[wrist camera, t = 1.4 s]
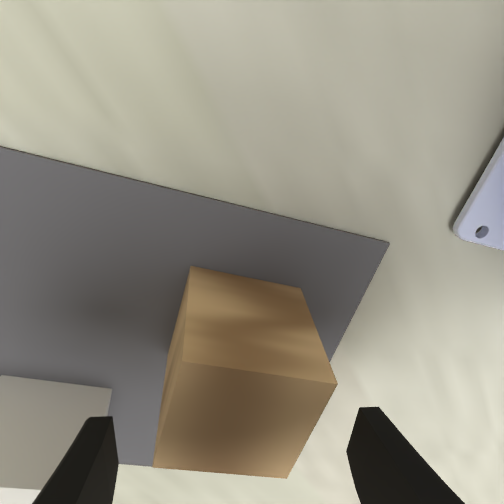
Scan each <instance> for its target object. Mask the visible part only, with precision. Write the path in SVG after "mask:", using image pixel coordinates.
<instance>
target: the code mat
mask: <svg viewBox="0 0 504 504" xmlns="http://www.w3.org/2000/svg"><path fill="white" fill-rule="evenodd" d="M389 244H390V243H389V242H385V241H381V240H377V239H373V238H369V237H365V236H361V235H357V234H353V233H349V232H345V231H341V230H337V229H333V228H328V227H324V226H320V225H316V224H312V223H308V222H304V221H300V220H296V219H292V218H288V217H284V216H280V215H276V214H272V213H268V212H264V211H260V210H256V209H251V208H247V207H243V206H239V205H235V204H231V203H227V202H223V201H219V200H215V199H211V198H207V197H203V196H199V195H195V194H191V193H187V192H183V191H179V190H175V189H170V188H166V187H162V186H158V185H154V184H150V183H146V182H142V181H138V180H134V179H130V178H126V177H122V176H118V175H114V174H110V173H106V172H102V171H98V170H93V169H89V168H85V167H81V166H77V165H73V164H69V163H65V162H61V161H57V160H53V159H49V158H45V157H41V156H37V155H33V154H29V153H25V152H21V151H17V150H12V149H8V148H4V147H0V376H1V375H6V376H14V377H22V378H30V379H38V380H46V381H54V382H62V383H69V384H77V385H85V386H93V387H101V388H109V389H112V393H111V399H110V404H109V409H108V415H107V416H113V423H114V431H115V438H116V446H117V453H118V460H119V464H127V465H139V466H151V467H152V465H153V458H154V451H155V444H156V436H157V429H158V422H159V415H160V408H161V400H162V393H163V386H164V379H165V371H166V364H167V357H168V352H169V348H170V344H171V340H172V336H173V332H174V329H175V325H176V321H177V317H178V313H179V309H180V305H181V301H182V298H183V294H184V290H185V286H186V282H187V278H188V274H189V270H190V266H194V267H199V268H204V269H209V270H214V271H219V272H224V273H229V274H234V275H238V276H243V277H248V278H253V279H258V280H263V281H268V282H273V283H278V284H283V285H287V286H292V287H297V288H301V290H302V293H303V296H304V298H305V301H306V303H307V306H308V308H309V311H310V314H311V316H312V319H313V321H314V324H315V327H316V329H317V332H318V334H319V337H320V340H321V342H322V345H323V347H324V350H325V352H326V355H327V358H328V360H329V362H330V360H331V358H332V356H333V354H334V352H335V350H336V348H337V346H338V344H339V342H340V341H341V339H342V337H343V335H344V333H345V331H346V329H347V327H348V325H349V323H350V321H351V319H352V317H353V315H354V313H355V311H356V309H357V307H358V305H359V303H360V301H361V299H362V297H363V295H364V293H365V291H366V289H367V287H368V285H369V284H370V282H371V280H372V278H373V276H374V274H375V272H376V270H377V268H378V266H379V264H380V262H381V260H382V258H383V256H384V254H385V252H386V250H387V248H388V246H389Z"/></svg>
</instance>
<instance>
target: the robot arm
mask: <svg viewBox="0 0 504 504" xmlns="http://www.w3.org/2000/svg"><path fill="white" fill-rule="evenodd" d="M481 226H482V228H481V230H480V231H479V232H478V233H476V234H475V232H476V230H477V229H478V228H479V227H481ZM453 232H454V234H455V235H456V236H457V237H459V238H460V239H462V240H465V241H469V242H472V243H476V244H480V245H484V246H488V247H492V248H495V249H499V250H503V251H504V138H503V139H502V141H501V143H500V145H499V146H498V148H497V150H496V152H495V153H494V155H493V157H492V159H491V160H490V162H489V164H488V165H487V167H486V169H485V171H484V172H483V174H482V176H481V178H480V179H479V181H478V183H477V185H476V186H475V188H474V190H473V191H472V193H471V195H470V197H469V198H468V200H467V202H466V204H465V205H464V207H463V209H462V211H461V212H460V214H459V216H458V217H457V219H456V221H455V223H454V226H453ZM346 452H347V456H348V460H349V464H350V469H351V473H352V477H353V480H354V484H355V488H356V491H357V494H358V497H359V500H360V502H361V504H465V503H464V502H463V501H462V500H461V499H460V498H459V497H458V496H457V495H456V494H455V493H454V492H453V491H452V490H451V489H450V488H449V487H448V485H447V484H446V483H445V482H444V481H443V480H442V479H441V478H440V477H439V476H438V475H437V473H436V472H435V471H434V470H433V469H432V468H431V467H430V466H429V465H428V464H427V462H426V461H425V460H424V459H423V458H422V457H421V456H420V455H419V453H418V452H417V451H416V450H415V449H414V448H413V446H412V445H411V444H410V443H409V442H408V441H407V440H406V438H405V437H404V436H403V435H402V434H401V432H400V431H399V430H398V429H397V428H396V427H395V425H394V424H393V423H392V422H391V421H390V420H389V418H388V417H387V416H386V415H385V414H384V412H383V411H382V410H381V409H380V408H379V407H360V408H359V411H358V414H357V417H356V421H355V424H354V427H353V431H352V434H351V437H350V441H349V444H348V447H347V451H346ZM118 464H119V460H118V453H117V446H116V438H115V431H114V423H113V416H100V417H89V418H88V419H86V421H85V422H84V424H83V426H82V428H81V429H80V431H79V433H78V434H77V436H76V438H75V439H74V441H73V443H72V444H71V446H70V448H69V449H68V451H67V452H66V454H65V456H64V457H63V459H62V460H61V462H60V463H59V465H58V466H57V468H56V469H55V471H54V472H53V474H52V475H51V477H50V478H49V480H48V481H47V483H46V484H45V485H44V487H43V488H42V490H41V491H40V493H39V494H38V496H37V497H36V499H35V500H34V501H33V503H32V504H112V501H113V495H114V489H115V483H116V477H117V471H118Z"/></svg>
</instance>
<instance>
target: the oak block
mask: <svg viewBox="0 0 504 504" xmlns="http://www.w3.org/2000/svg"><path fill="white" fill-rule="evenodd" d="M337 384H338V383H337V381H336V378H335V376H334V373H333V371H332V368H331V365H330V363H329V360H328V358H327V355H326V352H325V350H324V347H323V345H322V342H321V340H320V337H319V334H318V332H317V329H316V327H315V324H314V321H313V319H312V316H311V314H310V311H309V308H308V306H307V303H306V301H305V298H304V296H303V293H302V290H301V288H297V287H292V286H287V285H283V284H278V283H273V282H268V281H263V280H258V279H253V278H248V277H243V276H238V275H234V274H229V273H224V272H219V271H214V270H209V269H204V268H199V267H194V266H190V270H189V274H188V278H187V282H186V286H185V290H184V294H183V298H182V301H181V305H180V309H179V313H178V317H177V321H176V325H175V329H174V332H173V336H172V340H171V344H170V348H169V352H168V357H167V364H166V371H165V379H164V386H163V393H162V400H161V408H160V415H159V422H158V429H157V436H156V444H155V451H154V458H153V465H152V467H154V468H166V469H178V470H190V471H202V472H214V473H226V474H238V475H250V476H262V477H274V478H286V479H287V477H288V475H289V473H290V472H291V470H292V468H293V466H294V464H295V462H296V460H297V459H298V457H299V455H300V453H301V451H302V449H303V447H304V446H305V444H306V442H307V440H308V438H309V436H310V435H311V433H312V431H313V429H314V427H315V425H316V423H317V422H318V420H319V418H320V416H321V414H322V412H323V410H324V409H325V407H326V405H327V403H328V401H329V399H330V397H331V396H332V394H333V392H334V390H335V388H336V386H337Z"/></svg>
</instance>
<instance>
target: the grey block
mask: <svg viewBox="0 0 504 504" xmlns="http://www.w3.org/2000/svg"><path fill="white" fill-rule="evenodd" d="M111 393H112V389H109V388H101V387H93V386H85V385H77V384H69V383H62V382H54V381H46V380H38V379H30V378H22V377H14V376H6V375H1V376H0V504H32V503H33V501H34V500H35V499H36V497H37V496H38V494H39V493H40V491H41V490H42V488H43V487H44V485H45V484H46V483H47V481H48V480H49V478H50V477H51V475H52V474H53V472H54V471H55V469H56V468H57V466H58V465H59V463H60V462H61V460H62V459H63V457H64V456H65V454H66V452H67V451H68V449H69V448H70V446H71V444H72V443H73V441H74V439H75V438H76V436H77V434H78V433H79V431H80V429H81V428H82V426H83V424H84V422H85V421H86V419H88V418H89V417H100V416H107V415H108V409H109V404H110V399H111Z"/></svg>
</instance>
